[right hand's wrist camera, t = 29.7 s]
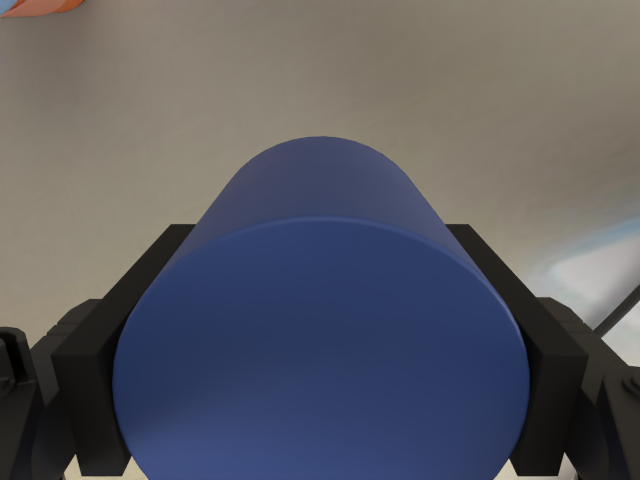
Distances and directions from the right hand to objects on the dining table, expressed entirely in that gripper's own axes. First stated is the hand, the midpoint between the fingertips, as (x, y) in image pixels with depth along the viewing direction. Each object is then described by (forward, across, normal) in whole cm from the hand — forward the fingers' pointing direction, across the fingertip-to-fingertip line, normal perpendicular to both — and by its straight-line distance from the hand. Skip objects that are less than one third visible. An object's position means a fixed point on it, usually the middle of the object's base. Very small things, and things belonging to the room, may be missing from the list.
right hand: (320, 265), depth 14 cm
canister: (+2, 0, 0) cm, 2 cm away
